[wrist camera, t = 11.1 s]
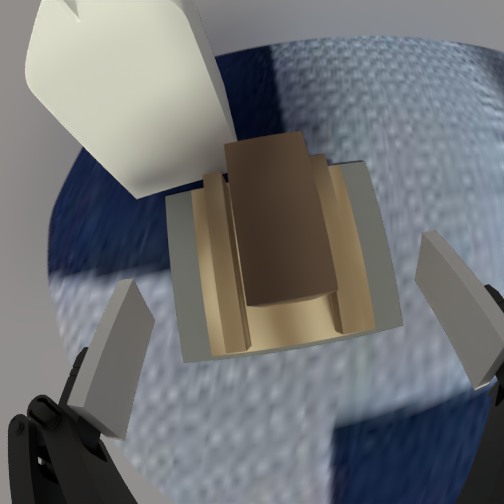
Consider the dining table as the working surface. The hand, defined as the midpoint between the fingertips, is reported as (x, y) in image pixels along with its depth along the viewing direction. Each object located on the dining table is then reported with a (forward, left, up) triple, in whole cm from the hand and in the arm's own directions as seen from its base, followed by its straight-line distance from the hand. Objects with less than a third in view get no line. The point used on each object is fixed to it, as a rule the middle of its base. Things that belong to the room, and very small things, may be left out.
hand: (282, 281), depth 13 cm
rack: (0, -3, -13) cm, 13 cm away
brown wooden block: (0, -3, -12) cm, 12 cm away
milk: (+8, -18, -14) cm, 24 cm away
